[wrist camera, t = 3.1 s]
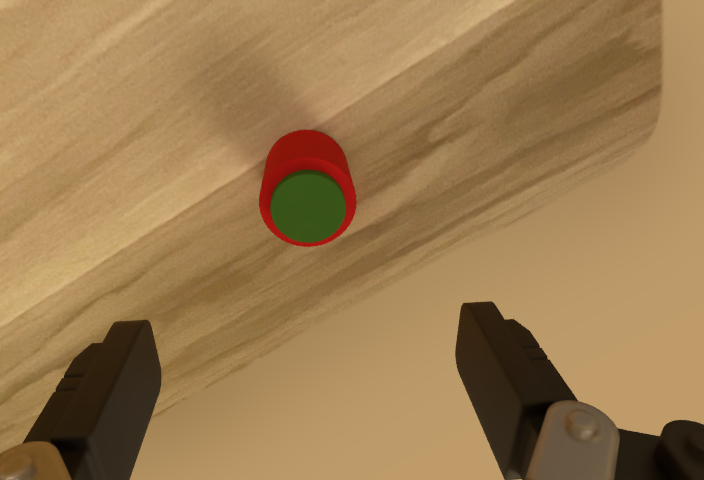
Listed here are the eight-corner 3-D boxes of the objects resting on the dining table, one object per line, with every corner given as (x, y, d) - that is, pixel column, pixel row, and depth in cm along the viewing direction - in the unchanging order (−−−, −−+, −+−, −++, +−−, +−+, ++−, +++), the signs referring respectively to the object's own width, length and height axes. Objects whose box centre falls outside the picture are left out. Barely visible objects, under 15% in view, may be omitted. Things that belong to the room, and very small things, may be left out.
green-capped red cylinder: (347, 128, 24) (358, 160, 20) (347, 206, 26) (357, 251, 21) (262, 130, 24) (253, 163, 19) (268, 208, 26) (262, 255, 21)
